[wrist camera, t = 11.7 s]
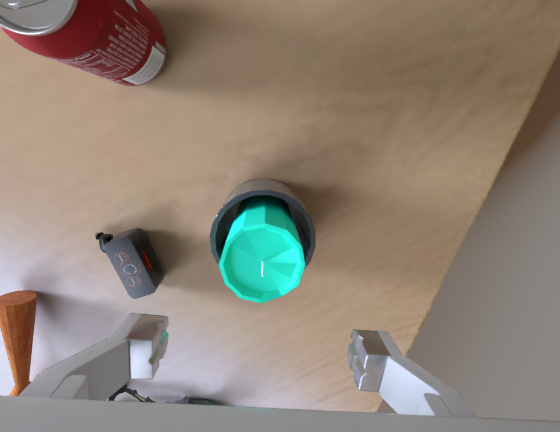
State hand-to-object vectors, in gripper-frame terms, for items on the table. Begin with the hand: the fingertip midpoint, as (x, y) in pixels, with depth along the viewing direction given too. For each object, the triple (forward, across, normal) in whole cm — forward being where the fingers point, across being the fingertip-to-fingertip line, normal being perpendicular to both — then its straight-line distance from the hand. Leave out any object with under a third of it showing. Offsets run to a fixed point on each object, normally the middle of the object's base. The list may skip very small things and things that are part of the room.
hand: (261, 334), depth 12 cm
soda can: (+19, +13, -14) cm, 27 cm away
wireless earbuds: (+18, +13, +5) cm, 23 cm away
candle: (+18, 0, 0) cm, 18 cm away
